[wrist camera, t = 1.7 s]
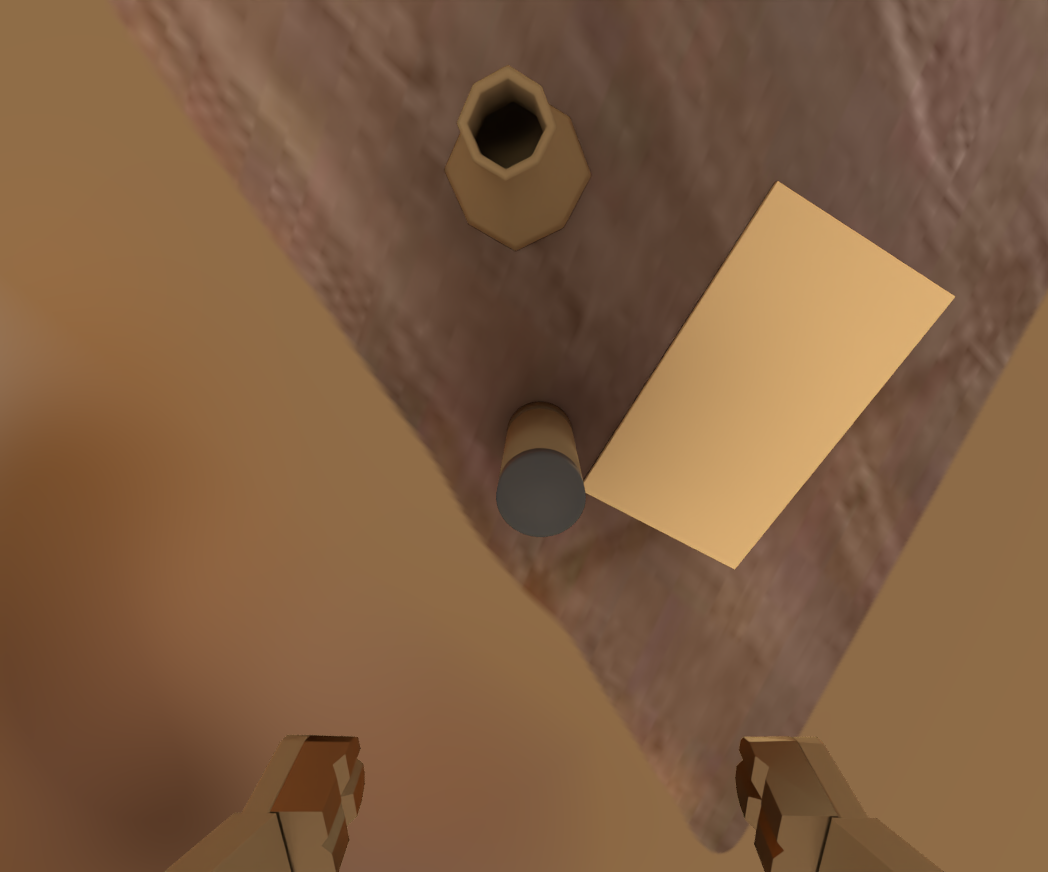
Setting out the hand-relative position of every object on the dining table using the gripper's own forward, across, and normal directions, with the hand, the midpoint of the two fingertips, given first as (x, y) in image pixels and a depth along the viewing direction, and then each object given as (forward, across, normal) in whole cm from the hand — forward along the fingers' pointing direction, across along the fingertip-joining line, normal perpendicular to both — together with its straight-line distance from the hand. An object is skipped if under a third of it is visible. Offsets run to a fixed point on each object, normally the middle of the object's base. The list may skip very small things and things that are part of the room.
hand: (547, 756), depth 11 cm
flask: (+22, +1, -14) cm, 26 cm away
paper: (+21, -13, -2) cm, 25 cm away
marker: (+21, 0, 0) cm, 21 cm away
